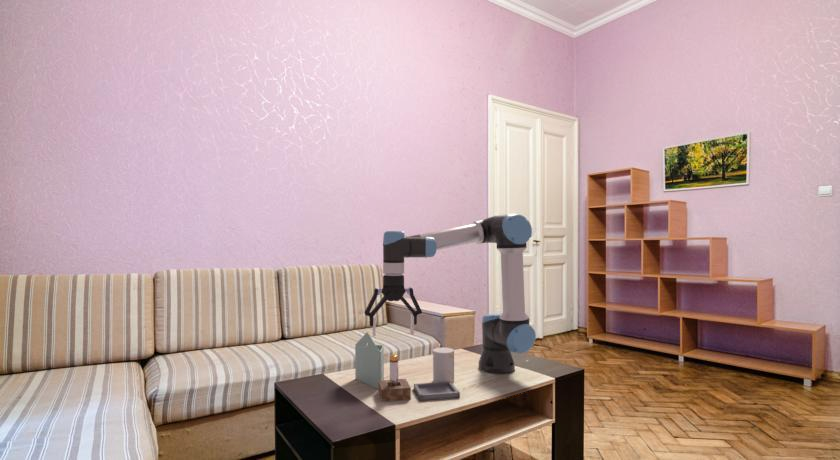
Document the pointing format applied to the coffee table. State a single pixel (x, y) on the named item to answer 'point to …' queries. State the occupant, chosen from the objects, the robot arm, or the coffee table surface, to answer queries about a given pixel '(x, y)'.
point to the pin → (393, 370)
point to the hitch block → (394, 390)
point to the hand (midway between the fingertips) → (393, 334)
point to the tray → (436, 391)
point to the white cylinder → (443, 365)
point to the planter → (369, 361)
